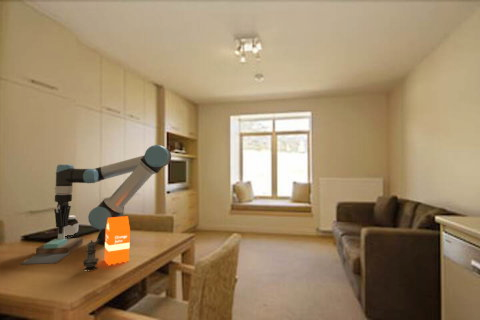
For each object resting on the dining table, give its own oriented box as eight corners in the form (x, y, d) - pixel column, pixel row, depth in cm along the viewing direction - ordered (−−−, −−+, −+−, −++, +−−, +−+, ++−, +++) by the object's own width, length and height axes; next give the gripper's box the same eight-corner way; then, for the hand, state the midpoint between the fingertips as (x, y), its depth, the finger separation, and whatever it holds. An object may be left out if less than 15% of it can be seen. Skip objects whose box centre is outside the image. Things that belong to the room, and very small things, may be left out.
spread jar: (71, 232, 176) (72, 214, 176) (84, 234, 171) (84, 216, 172) (52, 236, 165) (53, 217, 165) (65, 239, 160) (66, 219, 161)
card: (67, 242, 142) (67, 238, 142) (57, 248, 132) (57, 244, 132) (54, 242, 141) (54, 239, 141) (43, 248, 131) (43, 244, 131)
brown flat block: (82, 243, 151) (82, 238, 151) (67, 253, 133) (68, 247, 134) (54, 244, 149) (54, 238, 149) (36, 254, 131) (36, 248, 131)
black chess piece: (87, 272, 110) (88, 242, 110) (79, 269, 113) (80, 240, 113) (101, 268, 115) (102, 239, 115) (93, 265, 118) (94, 237, 118)
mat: (70, 253, 134) (70, 252, 134) (56, 263, 120) (56, 262, 120) (38, 254, 131) (38, 253, 131) (20, 264, 117) (20, 263, 117)
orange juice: (104, 260, 125) (105, 216, 125) (124, 257, 130) (126, 214, 131) (108, 265, 118) (109, 219, 119) (129, 261, 124) (130, 217, 124)
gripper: (61, 192, 149) (59, 236, 148) (49, 195, 136) (46, 243, 135) (76, 193, 150) (74, 236, 149) (65, 195, 137) (63, 242, 136)
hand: (61, 239), depth 142 cm, fingers closed
